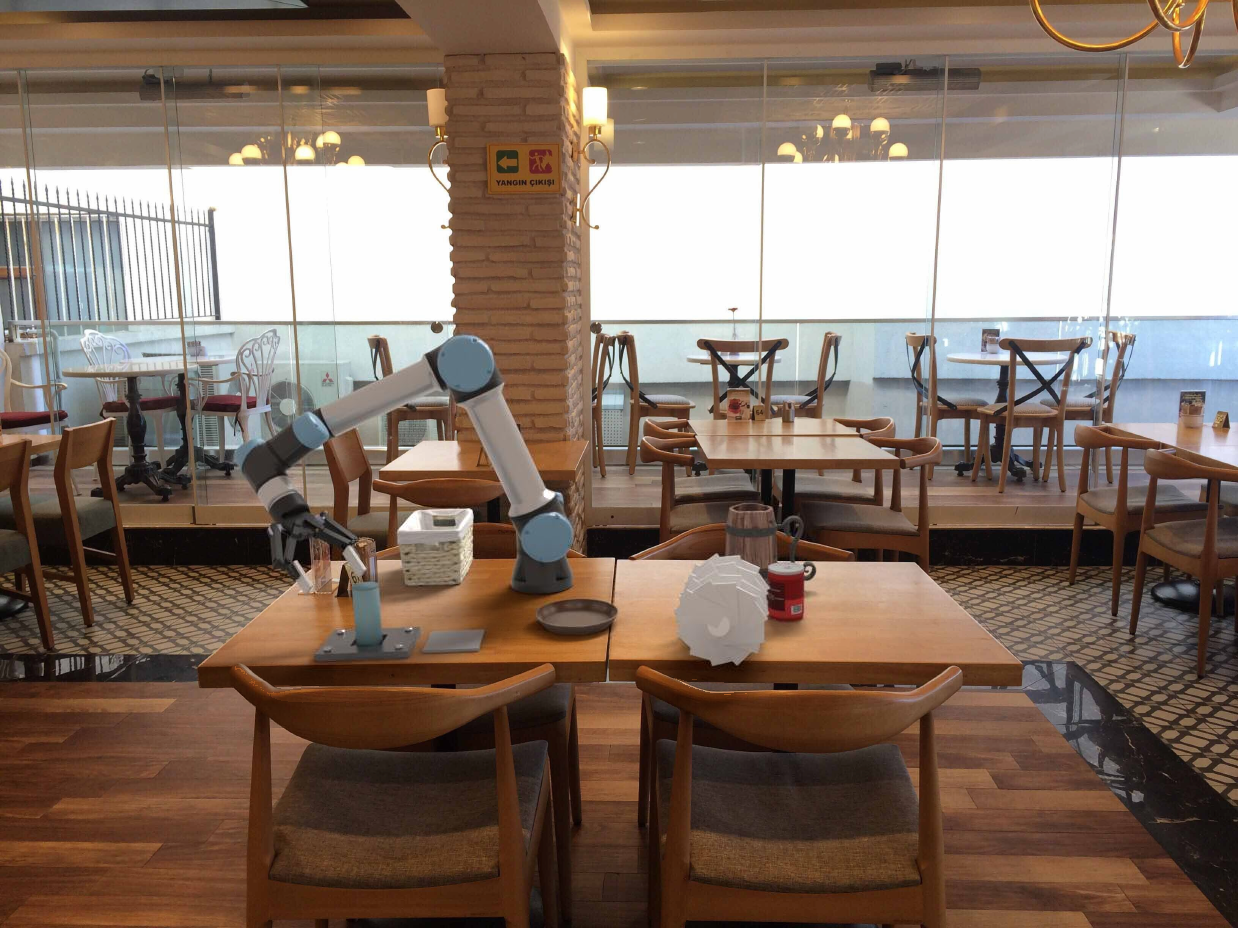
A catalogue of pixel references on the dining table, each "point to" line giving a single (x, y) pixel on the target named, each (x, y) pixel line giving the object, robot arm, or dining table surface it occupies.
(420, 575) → the storage basket
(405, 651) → the flange plate
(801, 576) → the canned food
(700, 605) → the spiral staircase
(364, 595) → the plug
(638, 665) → the dining table surface
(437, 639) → the pad
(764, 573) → the tankard
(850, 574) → the dining table surface
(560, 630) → the plant saucer
